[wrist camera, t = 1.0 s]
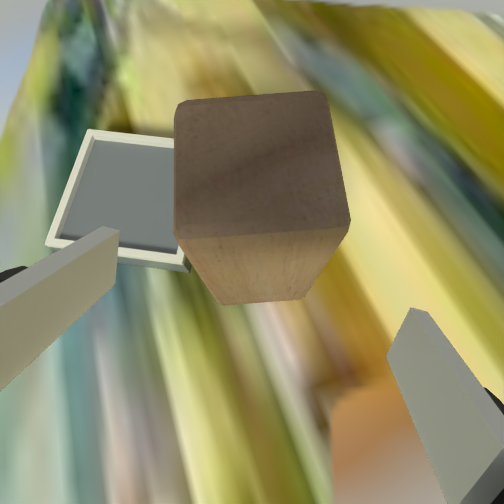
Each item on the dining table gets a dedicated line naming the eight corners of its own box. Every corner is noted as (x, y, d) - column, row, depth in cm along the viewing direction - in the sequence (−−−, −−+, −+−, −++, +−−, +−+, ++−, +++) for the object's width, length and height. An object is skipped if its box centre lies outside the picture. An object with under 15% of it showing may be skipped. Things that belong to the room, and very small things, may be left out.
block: (212, 224, 39) (170, 94, 20) (295, 218, 39) (330, 82, 20) (216, 307, 36) (168, 244, 17) (306, 300, 36) (359, 229, 17)
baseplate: (213, 161, 42) (209, 142, 38) (189, 272, 37) (182, 262, 34) (101, 148, 43) (87, 129, 39) (64, 255, 38) (44, 244, 35)
